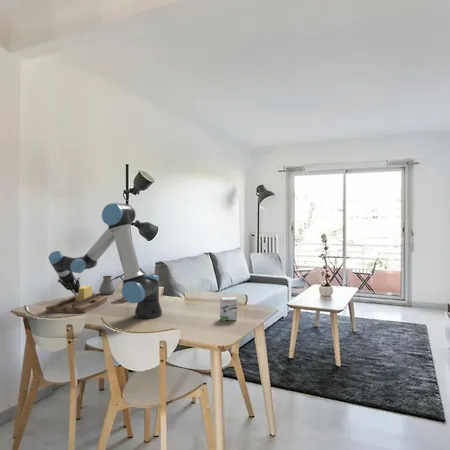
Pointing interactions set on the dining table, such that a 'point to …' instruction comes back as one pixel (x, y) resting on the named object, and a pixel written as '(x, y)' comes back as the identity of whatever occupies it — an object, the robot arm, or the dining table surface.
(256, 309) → the dining table surface
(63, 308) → the trap board
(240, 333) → the dining table surface
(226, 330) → the dining table surface
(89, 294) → the ochre block
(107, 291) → the coffee pot
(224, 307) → the ink box
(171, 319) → the dining table surface
